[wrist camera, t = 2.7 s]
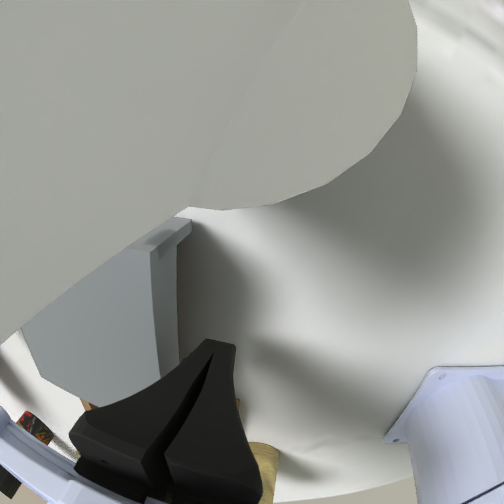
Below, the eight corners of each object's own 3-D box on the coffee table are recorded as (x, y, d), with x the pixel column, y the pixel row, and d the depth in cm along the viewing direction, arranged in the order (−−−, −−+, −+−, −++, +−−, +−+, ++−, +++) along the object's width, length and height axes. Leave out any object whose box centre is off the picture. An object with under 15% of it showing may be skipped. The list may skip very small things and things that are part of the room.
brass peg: (282, 446, 19) (274, 512, 13) (275, 464, 20) (266, 522, 15) (236, 438, 19) (219, 504, 14) (233, 457, 20) (219, 515, 15)
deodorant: (47, 437, 31) (8, 495, 17) (22, 412, 30) (-22, 468, 16) (58, 437, 29) (14, 502, 15) (29, 409, 28) (-20, 473, 14)
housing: (191, 219, 13) (149, 252, 9) (191, 386, 17) (169, 434, 13) (44, 200, 14) (-6, 220, 10) (71, 344, 18) (41, 376, 14)
